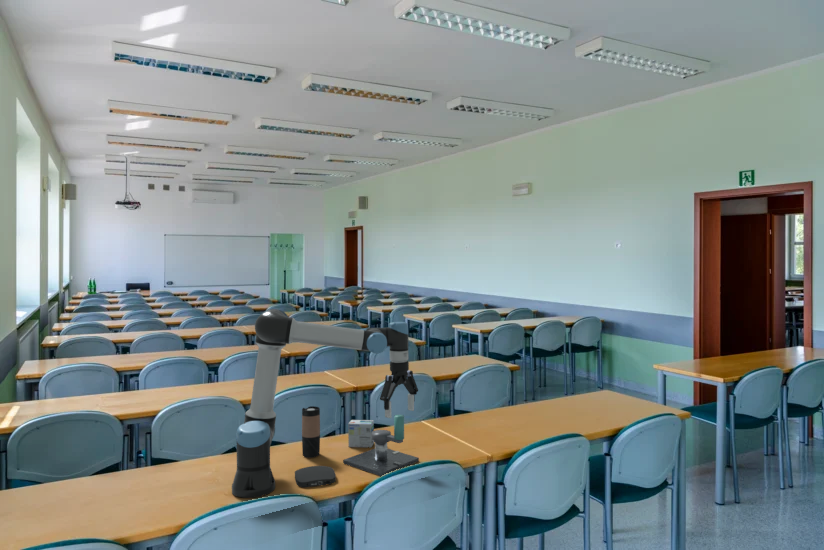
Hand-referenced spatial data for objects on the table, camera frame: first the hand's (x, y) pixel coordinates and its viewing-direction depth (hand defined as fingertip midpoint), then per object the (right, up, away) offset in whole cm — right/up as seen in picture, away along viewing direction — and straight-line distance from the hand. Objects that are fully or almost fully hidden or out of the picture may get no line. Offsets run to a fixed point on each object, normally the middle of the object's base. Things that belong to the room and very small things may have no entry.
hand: (399, 413), depth 223 cm
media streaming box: (-32, -23, -10) cm, 41 cm away
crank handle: (-5, -12, +4) cm, 14 cm away
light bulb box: (-18, -22, +29) cm, 40 cm away
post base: (-8, -22, +7) cm, 24 cm away
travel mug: (-38, -22, +16) cm, 47 cm away
